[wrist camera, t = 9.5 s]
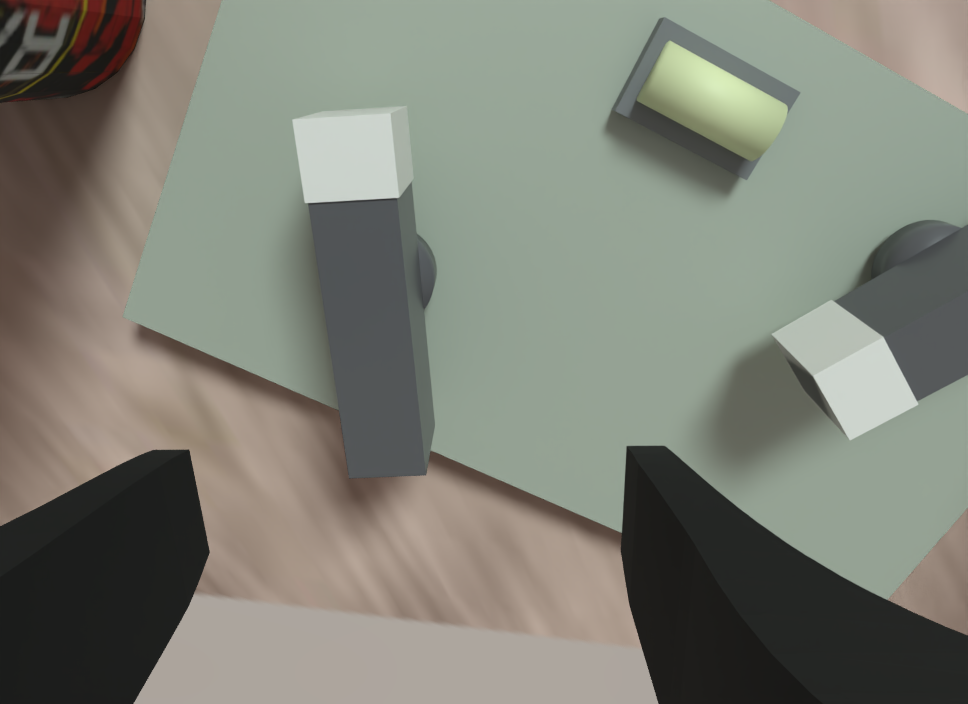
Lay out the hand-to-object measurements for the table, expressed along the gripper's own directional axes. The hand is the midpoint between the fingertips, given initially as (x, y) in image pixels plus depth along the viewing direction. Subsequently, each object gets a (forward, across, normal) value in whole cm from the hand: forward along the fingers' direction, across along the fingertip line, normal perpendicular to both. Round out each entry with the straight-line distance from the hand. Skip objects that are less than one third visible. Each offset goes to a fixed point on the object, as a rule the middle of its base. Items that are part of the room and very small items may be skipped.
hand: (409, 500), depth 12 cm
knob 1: (+8, +1, -2) cm, 8 cm away
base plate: (+9, -5, -1) cm, 11 cm away
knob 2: (+8, -12, -2) cm, 15 cm away
